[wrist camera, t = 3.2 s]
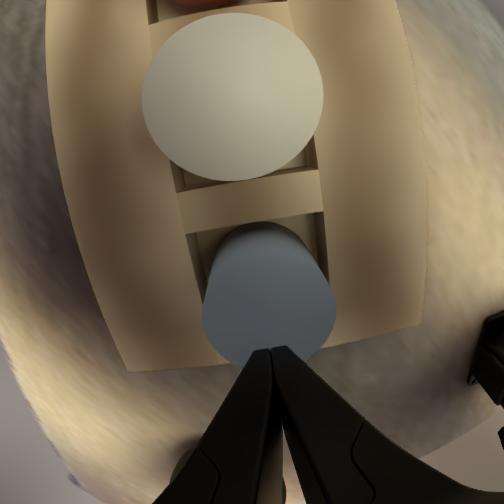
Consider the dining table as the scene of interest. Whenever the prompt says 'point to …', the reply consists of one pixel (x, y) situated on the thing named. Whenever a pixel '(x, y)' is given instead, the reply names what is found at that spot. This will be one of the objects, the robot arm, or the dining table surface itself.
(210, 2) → the red button
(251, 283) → the blue button
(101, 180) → the light wood flat tray
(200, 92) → the white rounded piece
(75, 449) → the dining table surface
